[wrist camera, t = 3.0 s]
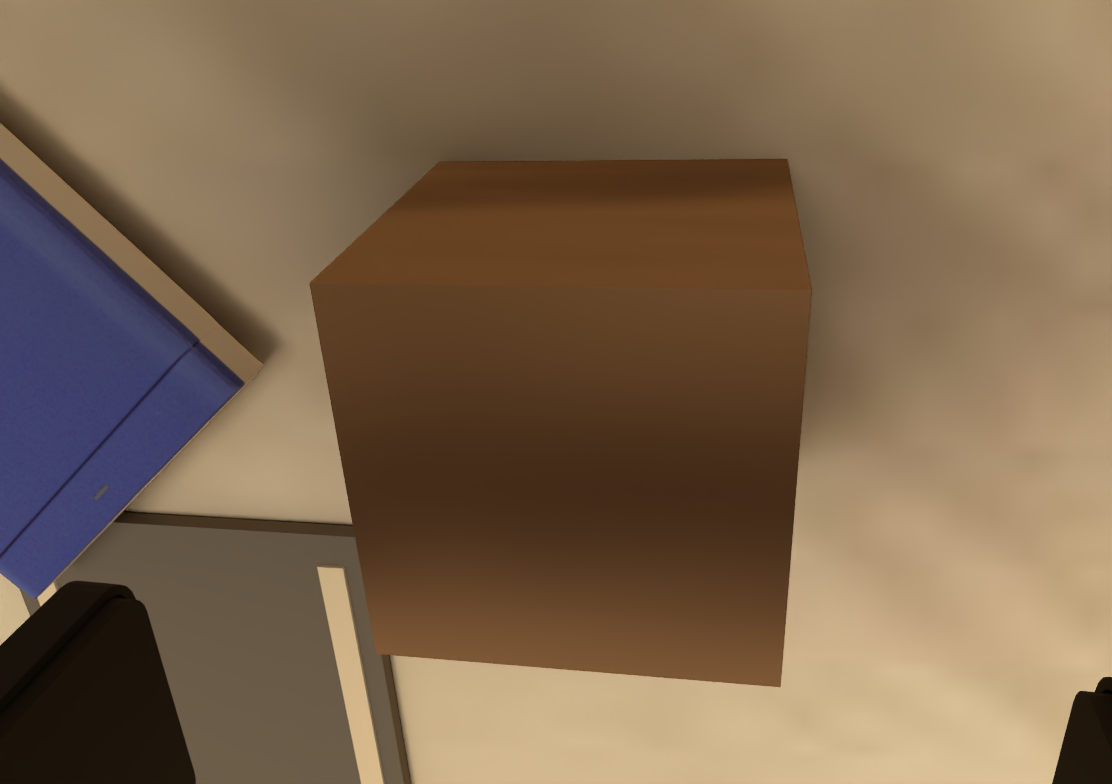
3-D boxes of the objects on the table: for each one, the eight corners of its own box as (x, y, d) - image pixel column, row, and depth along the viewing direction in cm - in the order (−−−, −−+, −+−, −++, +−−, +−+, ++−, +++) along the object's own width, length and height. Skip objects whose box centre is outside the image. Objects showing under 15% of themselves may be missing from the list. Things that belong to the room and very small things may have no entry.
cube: (440, 160, 17) (308, 283, 12) (787, 157, 16) (811, 289, 11) (470, 450, 20) (376, 653, 15) (768, 463, 19) (780, 687, 14)
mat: (2, 505, 22) (-13, 517, 22) (367, 526, 21) (359, 539, 21) (148, 890, 29) (139, 905, 28) (434, 928, 27) (430, 944, 27)
